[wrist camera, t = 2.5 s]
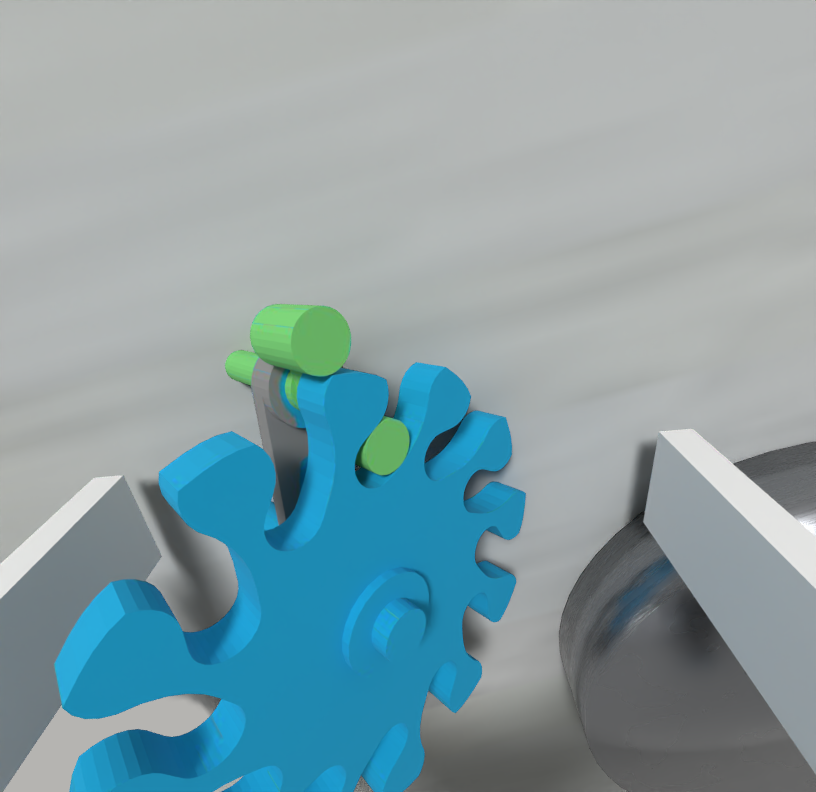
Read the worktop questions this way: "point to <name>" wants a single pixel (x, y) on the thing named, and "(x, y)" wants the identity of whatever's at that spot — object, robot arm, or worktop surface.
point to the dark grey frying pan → (677, 664)
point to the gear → (307, 581)
